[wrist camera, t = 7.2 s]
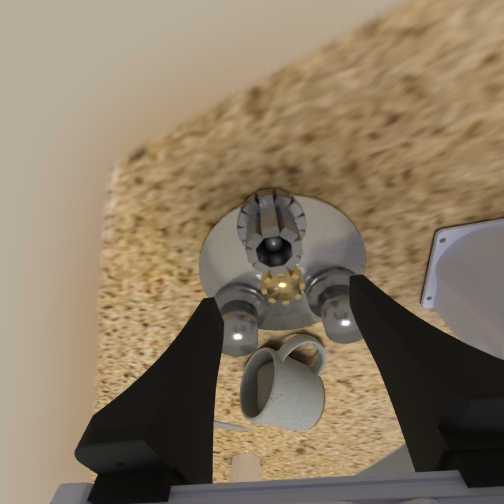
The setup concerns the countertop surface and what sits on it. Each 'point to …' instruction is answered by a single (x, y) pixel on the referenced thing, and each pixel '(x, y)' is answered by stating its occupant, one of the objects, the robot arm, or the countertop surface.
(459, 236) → the robot arm
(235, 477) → the white short cylinder
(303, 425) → the ceramic mug
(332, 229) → the carrier
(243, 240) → the planet gear
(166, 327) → the countertop surface
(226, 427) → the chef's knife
